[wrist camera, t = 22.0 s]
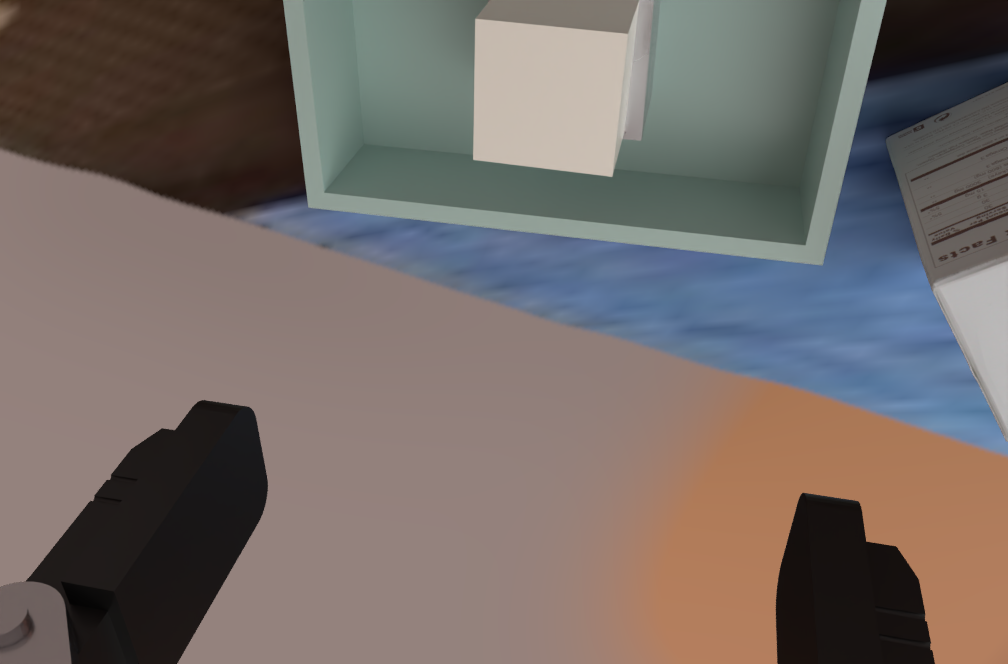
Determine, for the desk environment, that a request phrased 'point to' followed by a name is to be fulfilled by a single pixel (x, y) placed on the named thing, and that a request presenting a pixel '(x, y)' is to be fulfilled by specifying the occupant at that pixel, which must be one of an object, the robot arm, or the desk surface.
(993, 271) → the supplement box
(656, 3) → the tin block
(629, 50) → the cream box
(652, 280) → the desk surface
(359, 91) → the tote
